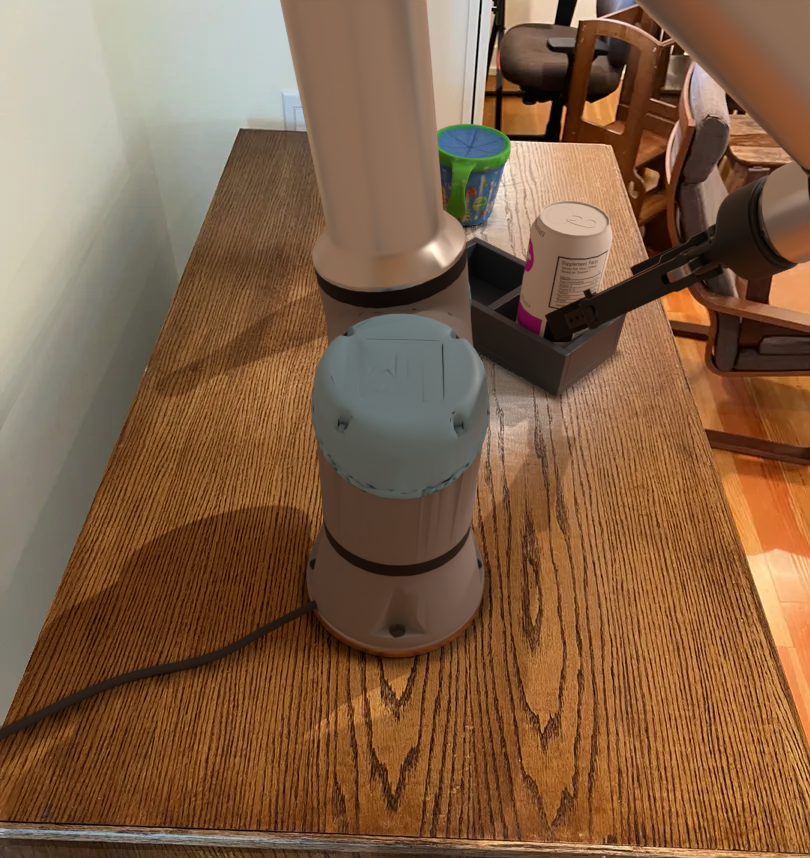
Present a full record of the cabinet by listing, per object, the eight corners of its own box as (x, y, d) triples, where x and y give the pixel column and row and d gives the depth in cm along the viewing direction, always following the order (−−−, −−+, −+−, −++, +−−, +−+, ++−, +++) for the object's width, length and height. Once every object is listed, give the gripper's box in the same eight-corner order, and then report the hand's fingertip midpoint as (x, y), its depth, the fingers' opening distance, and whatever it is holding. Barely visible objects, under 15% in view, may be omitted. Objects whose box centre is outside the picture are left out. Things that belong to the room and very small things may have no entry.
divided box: (556, 398, 84) (565, 356, 79) (409, 313, 93) (411, 272, 89) (615, 352, 89) (627, 311, 85) (471, 276, 98) (475, 236, 94)
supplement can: (502, 351, 86) (521, 225, 75) (529, 315, 91) (551, 190, 80) (570, 374, 84) (600, 247, 73) (594, 335, 89) (626, 210, 77)
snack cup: (484, 249, 103) (493, 173, 95) (410, 233, 105) (413, 157, 97) (514, 197, 112) (525, 124, 104) (446, 183, 114) (451, 110, 106)
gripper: (712, 322, 56) (529, 384, 75) (876, 215, 67) (681, 292, 85) (674, 224, 54) (497, 312, 73) (848, 130, 65) (655, 227, 84)
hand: (596, 301), depth 79 cm, fingers open, 13 cm apart
